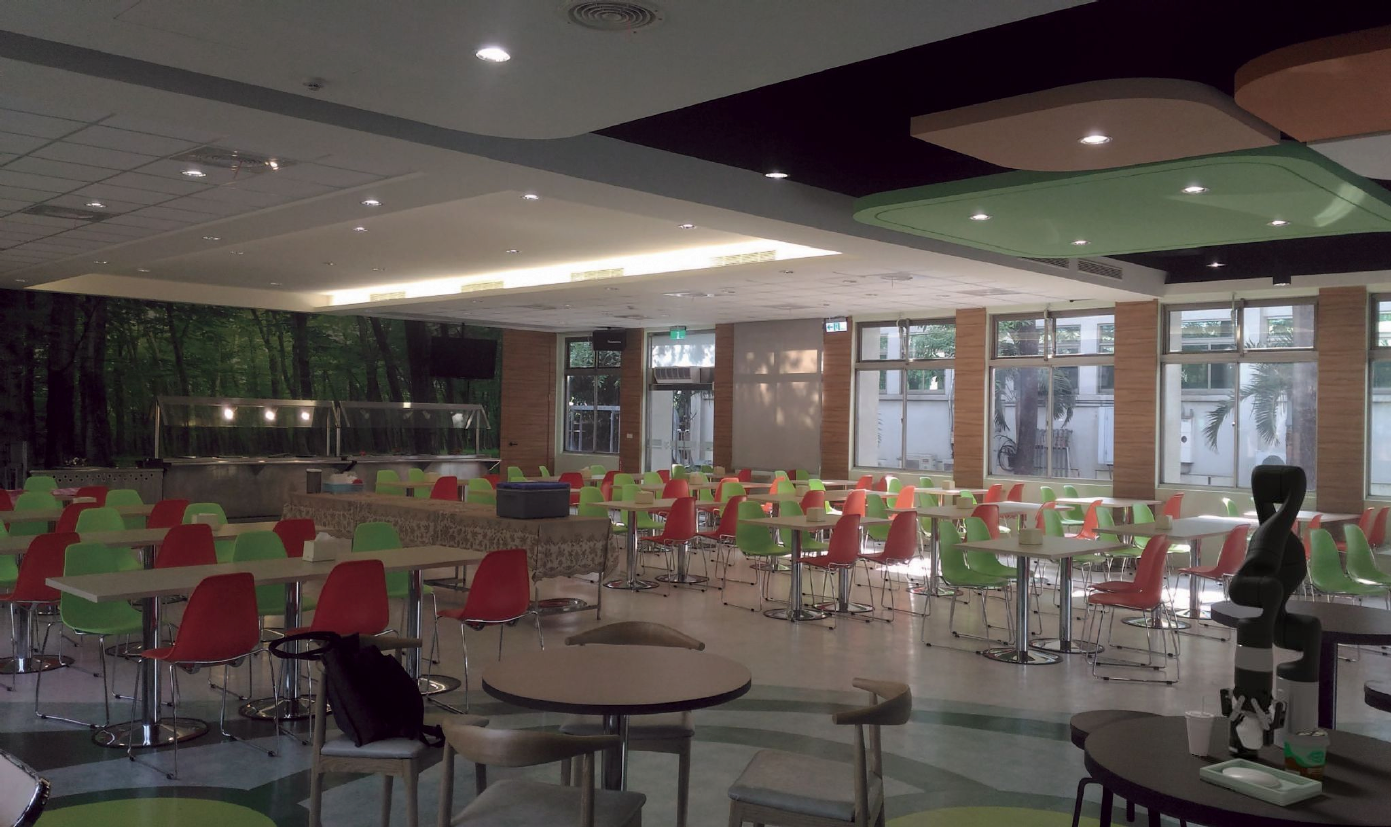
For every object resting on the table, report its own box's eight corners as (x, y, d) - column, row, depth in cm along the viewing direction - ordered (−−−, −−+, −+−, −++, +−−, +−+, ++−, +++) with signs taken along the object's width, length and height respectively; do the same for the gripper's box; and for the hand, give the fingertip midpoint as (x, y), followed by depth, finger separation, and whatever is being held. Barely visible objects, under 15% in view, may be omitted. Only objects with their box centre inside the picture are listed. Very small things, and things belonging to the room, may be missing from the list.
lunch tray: (1238, 769, 234) (1239, 758, 234) (1321, 794, 219) (1321, 782, 219) (1199, 779, 225) (1199, 768, 225) (1282, 806, 210) (1282, 794, 210)
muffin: (1270, 747, 224) (1271, 715, 224) (1263, 753, 219) (1264, 720, 219) (1239, 741, 228) (1240, 709, 228) (1232, 746, 223) (1232, 714, 224)
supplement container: (1266, 759, 242) (1267, 715, 242) (1246, 762, 239) (1247, 717, 240) (1241, 750, 248) (1242, 708, 248) (1221, 753, 246) (1222, 710, 246)
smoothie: (1216, 759, 240) (1218, 700, 241) (1187, 757, 242) (1189, 698, 242) (1208, 751, 247) (1210, 694, 247) (1180, 748, 248) (1182, 691, 248)
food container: (1308, 785, 224) (1309, 740, 224) (1281, 776, 230) (1282, 732, 230) (1341, 778, 230) (1342, 734, 230) (1313, 769, 235) (1315, 726, 236)
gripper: (1296, 671, 220) (1294, 749, 220) (1231, 658, 232) (1229, 731, 232) (1278, 674, 216) (1275, 753, 216) (1212, 660, 228) (1210, 735, 228)
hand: (1251, 741), depth 224 cm, fingers closed on muffin, 6 cm apart
